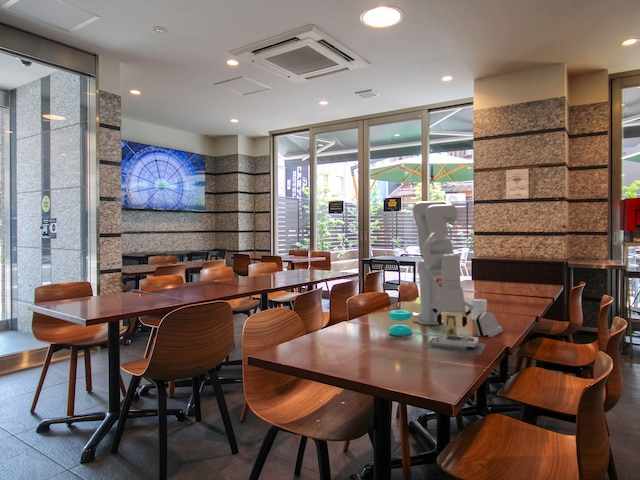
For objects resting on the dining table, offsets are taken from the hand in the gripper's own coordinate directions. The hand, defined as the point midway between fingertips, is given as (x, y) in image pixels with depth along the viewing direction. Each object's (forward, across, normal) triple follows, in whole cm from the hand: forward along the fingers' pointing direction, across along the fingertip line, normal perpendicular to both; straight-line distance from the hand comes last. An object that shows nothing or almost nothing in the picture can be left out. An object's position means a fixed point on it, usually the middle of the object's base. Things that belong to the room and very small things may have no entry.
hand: (451, 325), depth 168 cm
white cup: (+5, +4, +46) cm, 46 cm away
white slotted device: (+6, +11, +18) cm, 22 cm away
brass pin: (+6, 0, +1) cm, 6 cm away
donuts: (+6, -22, +1) cm, 23 cm away
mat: (+6, +3, -10) cm, 12 cm away
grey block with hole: (+6, +3, -10) cm, 12 cm away
